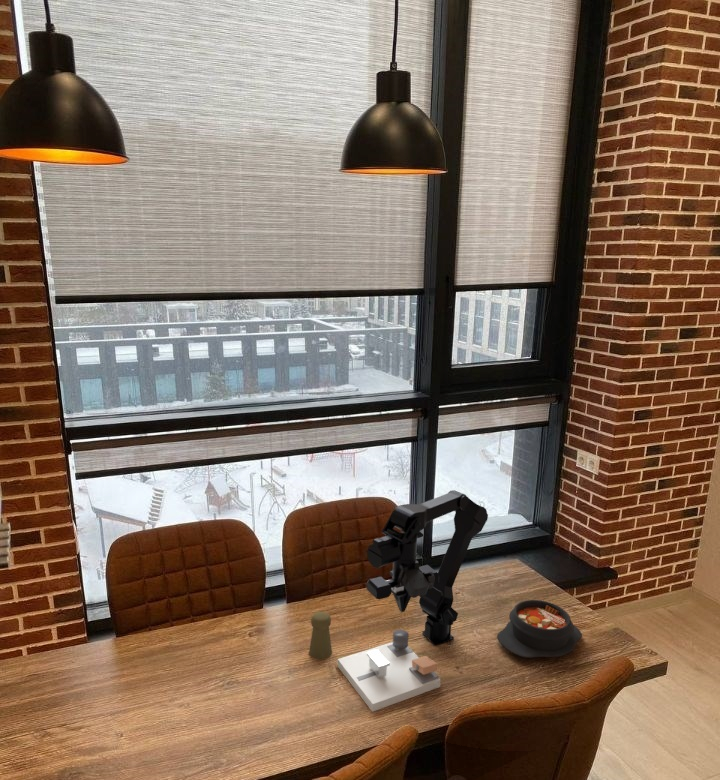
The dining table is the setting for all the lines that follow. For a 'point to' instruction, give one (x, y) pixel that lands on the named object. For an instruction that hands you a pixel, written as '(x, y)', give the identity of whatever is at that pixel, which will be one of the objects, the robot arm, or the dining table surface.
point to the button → (400, 639)
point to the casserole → (539, 630)
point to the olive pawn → (320, 636)
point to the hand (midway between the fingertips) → (402, 611)
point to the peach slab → (424, 665)
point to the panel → (387, 677)
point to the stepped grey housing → (378, 663)
